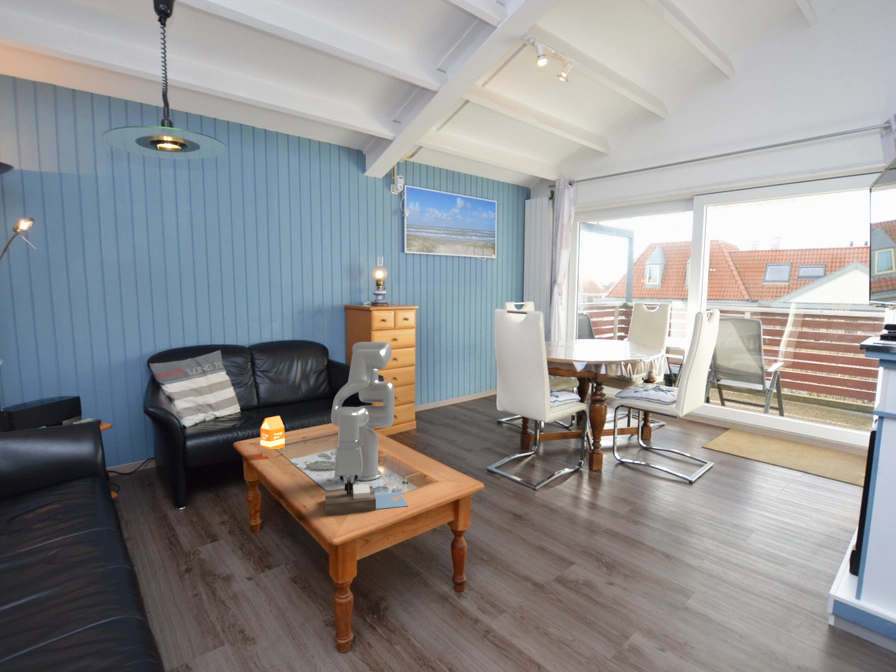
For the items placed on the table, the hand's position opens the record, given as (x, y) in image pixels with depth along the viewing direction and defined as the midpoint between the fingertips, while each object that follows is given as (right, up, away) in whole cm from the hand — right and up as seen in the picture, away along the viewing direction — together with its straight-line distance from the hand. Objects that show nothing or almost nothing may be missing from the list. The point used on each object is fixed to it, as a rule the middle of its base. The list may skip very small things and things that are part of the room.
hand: (348, 492), depth 171 cm
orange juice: (-53, -3, +64) cm, 83 cm away
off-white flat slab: (+5, 0, +1) cm, 5 cm away
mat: (+15, -5, +5) cm, 16 cm away
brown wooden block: (0, -5, 0) cm, 5 cm away
